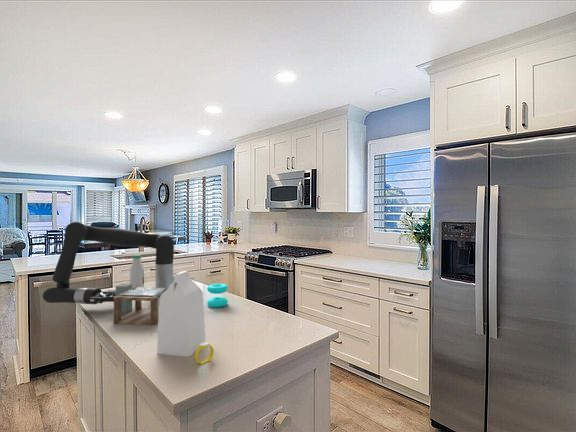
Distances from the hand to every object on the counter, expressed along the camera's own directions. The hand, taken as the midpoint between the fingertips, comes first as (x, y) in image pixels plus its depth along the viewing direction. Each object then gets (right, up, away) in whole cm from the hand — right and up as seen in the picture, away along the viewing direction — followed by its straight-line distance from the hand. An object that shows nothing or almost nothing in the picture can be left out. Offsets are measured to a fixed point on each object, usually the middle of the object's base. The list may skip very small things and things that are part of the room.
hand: (120, 296), depth 153 cm
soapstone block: (+2, -6, 0) cm, 7 cm away
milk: (+42, -8, -41) cm, 59 cm away
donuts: (+44, -7, +9) cm, 45 cm away
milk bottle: (-12, -6, +43) cm, 45 cm away
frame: (+16, -7, -9) cm, 20 cm away
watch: (+53, -8, -51) cm, 74 cm away
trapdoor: (+14, +2, -9) cm, 17 cm away
